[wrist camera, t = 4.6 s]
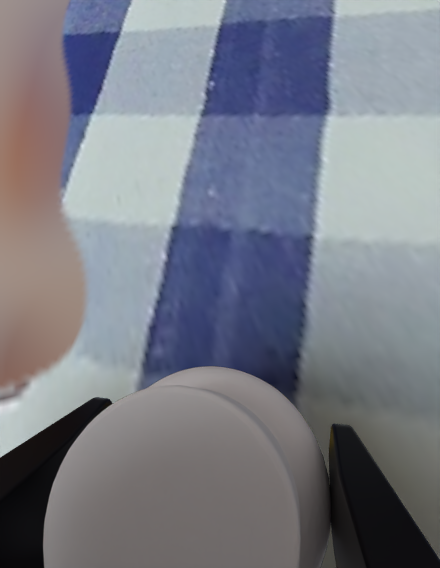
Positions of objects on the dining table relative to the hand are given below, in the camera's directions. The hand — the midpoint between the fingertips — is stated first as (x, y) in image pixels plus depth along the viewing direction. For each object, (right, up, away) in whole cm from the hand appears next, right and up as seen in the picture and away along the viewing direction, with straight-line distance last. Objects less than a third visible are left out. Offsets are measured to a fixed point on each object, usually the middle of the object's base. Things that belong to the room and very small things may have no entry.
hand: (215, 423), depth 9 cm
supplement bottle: (+1, -4, +6) cm, 7 cm away
